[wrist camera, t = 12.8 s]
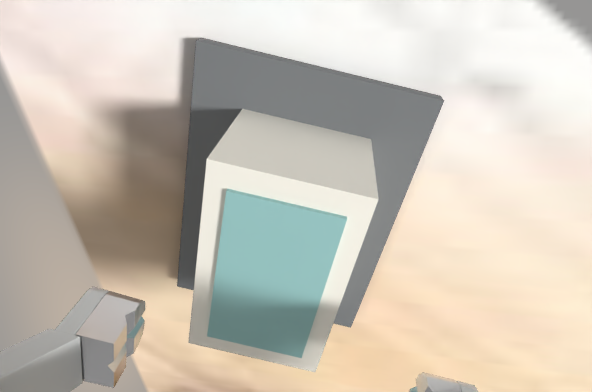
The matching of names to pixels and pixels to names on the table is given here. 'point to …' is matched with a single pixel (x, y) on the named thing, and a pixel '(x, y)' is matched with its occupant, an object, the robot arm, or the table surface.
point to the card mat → (314, 111)
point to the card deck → (279, 237)
